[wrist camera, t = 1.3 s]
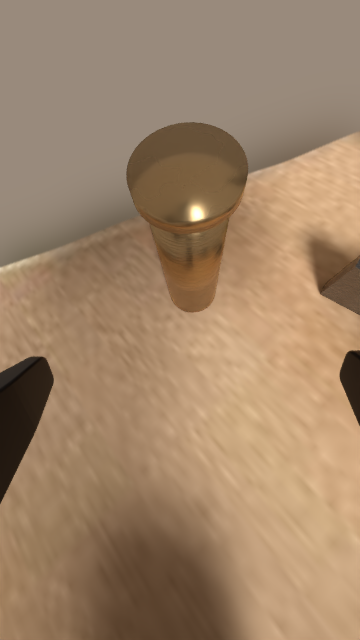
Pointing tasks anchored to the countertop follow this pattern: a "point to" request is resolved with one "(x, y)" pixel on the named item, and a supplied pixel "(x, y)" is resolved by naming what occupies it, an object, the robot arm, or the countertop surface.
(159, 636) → the countertop surface
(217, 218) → the pin
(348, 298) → the grey ring with arms
